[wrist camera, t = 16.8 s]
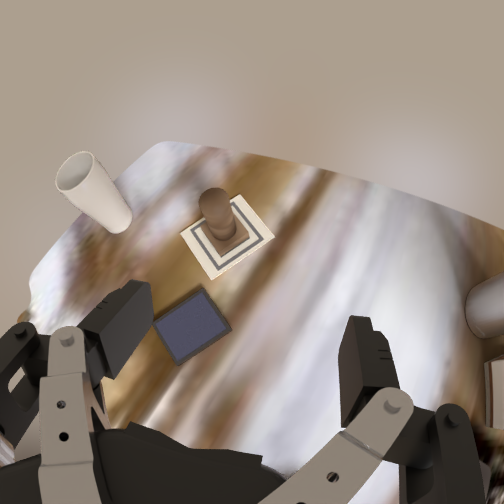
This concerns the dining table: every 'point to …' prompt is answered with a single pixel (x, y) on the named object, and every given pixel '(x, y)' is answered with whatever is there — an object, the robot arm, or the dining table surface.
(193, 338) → the ink pad
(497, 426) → the white tiered stand
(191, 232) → the label card
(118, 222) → the drinking glass
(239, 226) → the stamp
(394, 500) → the dining table surface
